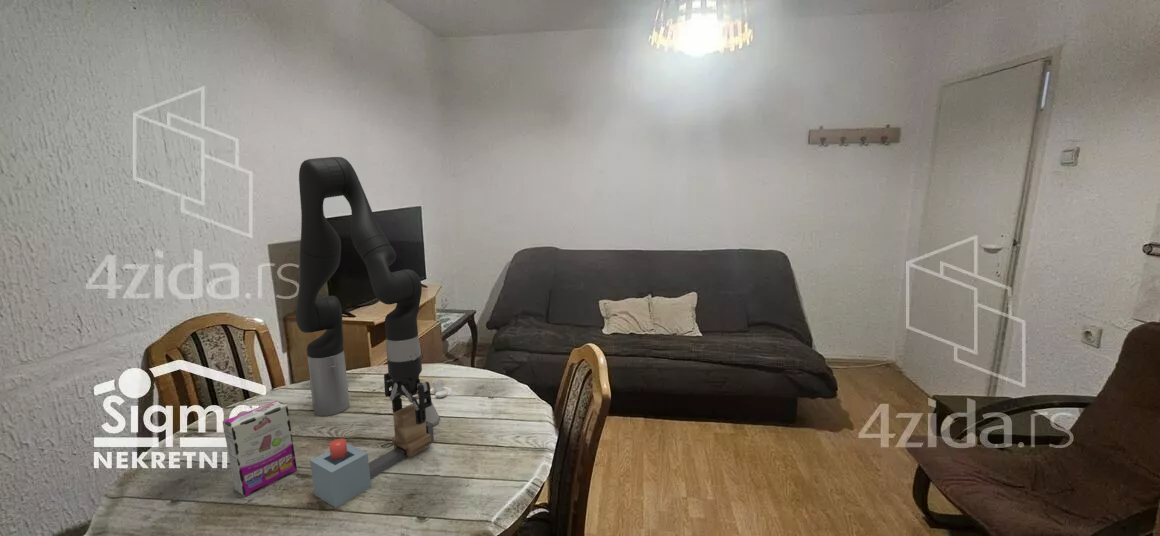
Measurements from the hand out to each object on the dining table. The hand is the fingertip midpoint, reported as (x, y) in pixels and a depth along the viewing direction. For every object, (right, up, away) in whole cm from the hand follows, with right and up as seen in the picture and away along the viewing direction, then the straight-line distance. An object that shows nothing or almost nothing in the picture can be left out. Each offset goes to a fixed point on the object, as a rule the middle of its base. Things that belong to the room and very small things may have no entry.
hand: (409, 418), depth 116 cm
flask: (-1, -6, +15) cm, 17 cm away
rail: (-3, -9, -2) cm, 10 cm away
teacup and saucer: (-5, -4, +32) cm, 32 cm away
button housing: (-10, -11, -13) cm, 20 cm away
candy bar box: (-29, -11, -9) cm, 32 cm away
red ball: (-10, -3, -15) cm, 18 cm away
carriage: (0, -9, +2) cm, 9 cm away
